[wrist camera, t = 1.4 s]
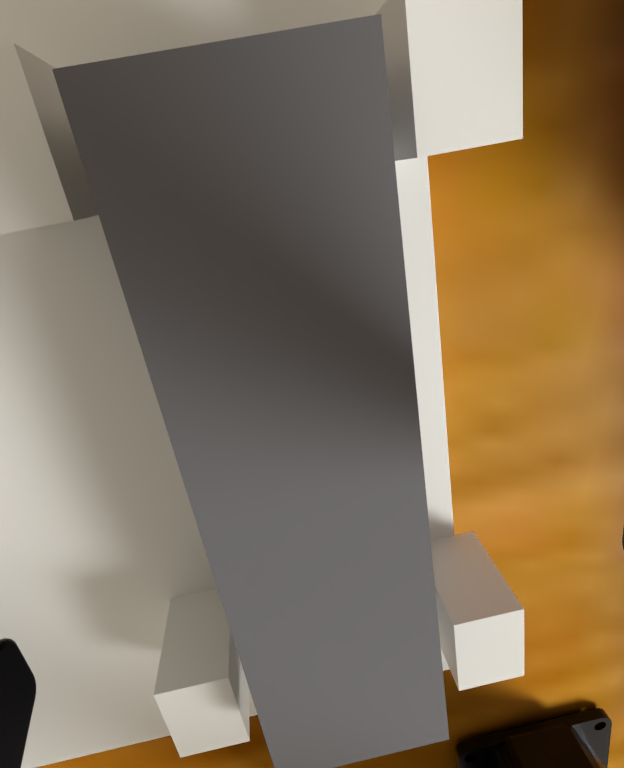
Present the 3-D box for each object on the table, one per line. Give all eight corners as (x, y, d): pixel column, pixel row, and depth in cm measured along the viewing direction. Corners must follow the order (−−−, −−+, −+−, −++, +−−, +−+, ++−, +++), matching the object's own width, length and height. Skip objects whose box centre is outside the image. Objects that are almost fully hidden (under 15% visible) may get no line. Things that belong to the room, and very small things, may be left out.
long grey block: (395, 592, 16) (449, 739, 12) (269, 620, 16) (278, 781, 11) (326, 81, 10) (381, 13, 6) (130, 114, 10) (52, 69, 6)
